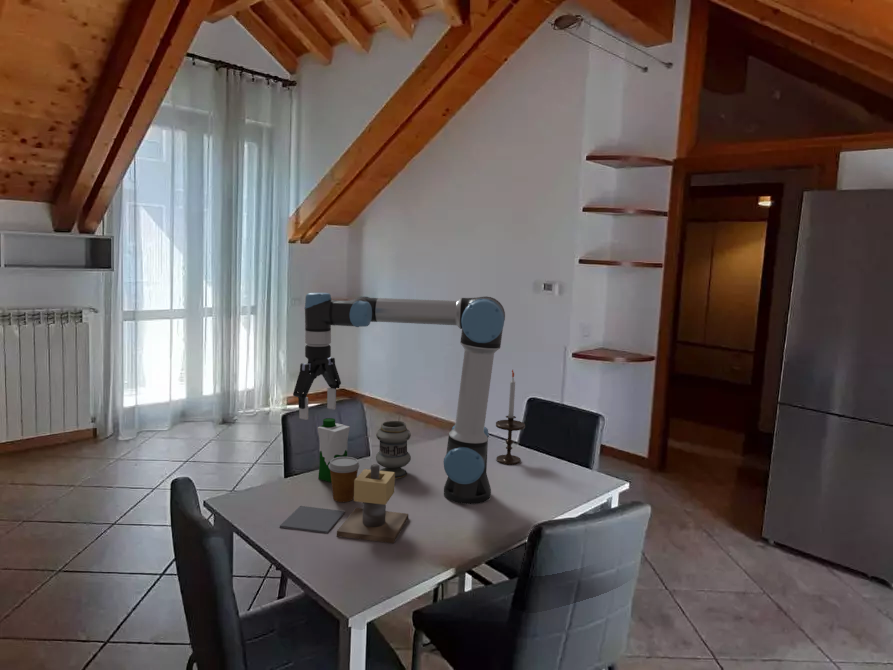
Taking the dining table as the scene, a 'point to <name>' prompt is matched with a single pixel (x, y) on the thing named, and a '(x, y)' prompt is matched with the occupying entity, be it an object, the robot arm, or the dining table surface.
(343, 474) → the disposable coffee cup
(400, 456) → the apothecary jar
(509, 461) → the candlestick
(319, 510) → the mat
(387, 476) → the collar
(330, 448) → the milk carton
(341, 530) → the stand
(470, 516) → the dining table surface
